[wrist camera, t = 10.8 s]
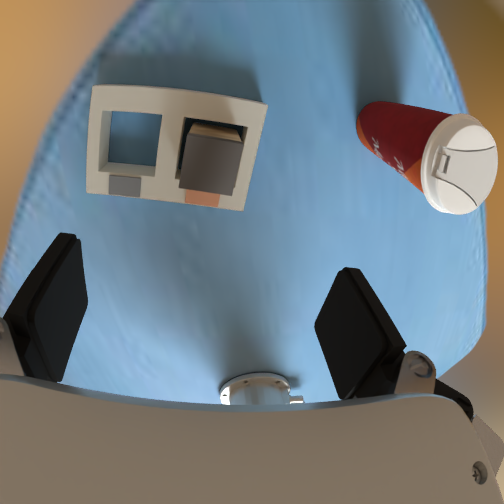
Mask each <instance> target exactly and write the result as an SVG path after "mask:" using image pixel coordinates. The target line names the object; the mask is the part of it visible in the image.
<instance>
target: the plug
mask: <svg viewBox="0 0 504 504" xmlns="http://www.w3.org/2000/svg"><path fill="white" fill-rule="evenodd" d="M243 147H244V144H243V142H242V141H241V139H240V137H239V135H238V132H237V130H236V129H233V128H227V127H222V126H216V125H210V124H204V123H198V122H193V125H192V127H191V129H190V132H189V133H188V134H187V139H186V144H185V150H184V156H183V162H182V168H181V174H180V181H179V187H178V188H181V189H188V190H195V191H202V192H208V193H215V194H221V195H227V196H232V194H233V189H234V185H235V181H236V176H237V172H238V168H239V164H240V159H241V155H242V151H243Z"/></svg>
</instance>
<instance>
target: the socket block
mask: <svg viewBox="0 0 504 504" xmlns="http://www.w3.org/2000/svg"><path fill="white" fill-rule="evenodd" d="M267 108H268V105H267V104H265V103H263V102H259V101H254V100H249V99H244V98H239V97H233V96H227V95H221V94H215V93H208V92H201V91H194V90H186V89H177V88H167V87H156V86H143V85H124V84H100V85H93V87H92V95H91V103H90V114H89V125H88V141H87V168H86V193H93V194H104V195H114V196H123V197H133V198H142V199H151V200H160V201H168V202H176V203H184V204H192V205H200V206H207V207H215V208H222V209H229V210H236V211H243V210H244V205H245V201H246V197H247V192H248V188H249V184H250V179H251V175H252V171H253V166H254V162H255V158H256V154H257V150H258V145H259V141H260V137H261V133H262V129H263V125H264V120H265V116H266V112H267ZM112 111H124V112H139V113H151V114H162V122H161V129H160V136H159V143H158V151H157V160H156V166H146V165H136V164H126V163H114V162H108V154H109V140H110V128H111V118H112ZM186 117H188V118H196V119H203V120H210V121H217V122H223V123H229V124H235V125H240V126H244V127H243V132H242V136H241V141H242V142H243V144H244V147H243V151H242V155H241V159H240V164H239V168H238V172H237V176H236V181H235V185H234V189H233V194H232V196H227V195H221V194H215V193H208V192H202V191H195V190H188V189H181V188H178V187H179V181H180V174H181V169H178V166H179V159H180V152H181V145H182V139H183V133H184V127H185V121H186Z"/></svg>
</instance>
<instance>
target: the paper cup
mask: <svg viewBox="0 0 504 504" xmlns="http://www.w3.org/2000/svg"><path fill="white" fill-rule="evenodd" d="M356 129H357V134H358V137H359V139H360V141H361V142H362V143H363V145H364V146H365V147H367V148H368V149H369V150H370V151H371V152H373V153H374V154H375V155H377V156H378V157H379V158H381V159H382V160H383V161H384V162H386V163H387V164H388V165H390V166H391V167H392V168H393V169H395V170H396V171H397V172H398V173H400V174H401V175H402V176H403V177H405V178H406V179H407V180H408V181H410V182H411V183H412V184H413V185H414V186H416V187H417V188H418V189H419V190H420V191H421V192H423V193H424V195H425V197H426V199H427V201H428V202H429V203H430V204H431V206H433V207H434V208H435V209H437V210H438V211H440V212H444V213H452V214H458V215H462V214H467V213H469V212H472V211H473V210H475V209H476V208H477V207H478V206H479V205H480V204H481V203H482V202H483V201H484V200H485V198H486V197H487V196H488V194H489V192H490V191H491V188H492V186H493V184H494V181H495V177H496V173H497V167H498V158H497V149H496V144H495V141H494V139H493V137H492V136H491V134H490V133H489V131H488V130H486V128H484V127H483V125H482V124H481V123H480V122H479V121H478V120H477V119H476V118H474V117H473V116H470V115H468V114H461V113H460V114H454V115H452V114H448V113H443V112H439V111H435V110H430V109H425V108H421V107H415V106H410V105H404V104H398V103H391V102H382V101H377V102H372V103H370V104H368V105H366V106H365V107H364V108H363V109H362V110H361V112H360V114H359V116H358V119H357V124H356Z"/></svg>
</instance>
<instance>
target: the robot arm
mask: <svg viewBox="0 0 504 504" xmlns="http://www.w3.org/2000/svg"><path fill="white" fill-rule="evenodd" d="M87 305H88V297H87V290H86V283H85V276H84V268H83V259H82V249H81V241H80V239H77V238H76V235H75V234H69V233H59V234H58V235H57V237H56V238H55V239H54V241H53V242H52V244H51V245H50V246H49V248H48V249H47V250H46V252H45V253H44V255H43V256H42V257H41V259H40V260H39V262H38V263H37V265H36V266H35V267H34V269H33V270H32V271H31V273H30V274H29V276H28V277H27V279H26V280H25V282H24V283H23V285H22V286H21V288H20V290H19V291H18V293H17V294H16V296H15V298H14V299H13V301H12V303H11V304H10V306H9V308H8V309H7V311H6V313H5V315H4V316H3V318H1V317H0V504H504V502H503V499H502V495H501V492H500V489H499V486H498V483H497V480H496V478H495V477H496V474H497V472H498V470H499V467H500V465H501V462H502V459H503V457H504V443H503V441H502V440H501V438H500V437H499V436H498V435H497V434H496V433H495V432H494V431H493V430H492V429H491V428H490V427H489V426H488V425H486V423H484V422H483V420H482V419H480V418H479V417H478V416H477V415H474V416H473V407H472V405H471V402H470V400H469V399H468V398H467V397H465V396H464V395H463V394H461V393H459V392H458V391H456V390H454V389H453V388H451V387H449V386H448V385H446V384H444V383H443V382H441V381H439V380H437V379H436V369H435V366H434V364H433V362H432V361H431V360H430V359H429V358H428V357H427V356H426V355H425V354H423V353H421V352H418V351H408V352H407V353H406V354H405V353H404V351H403V350H404V348H405V347H406V346H407V345H406V344H405V342H404V340H403V338H402V337H401V335H400V333H399V332H398V330H397V328H396V326H395V325H394V323H393V321H392V320H391V318H390V316H389V315H388V313H387V311H386V310H385V308H384V307H383V305H382V303H381V302H380V300H379V299H378V297H377V295H376V294H375V292H374V291H373V289H372V287H371V286H370V284H369V283H368V281H367V280H366V278H365V277H364V275H363V273H362V272H361V270H360V269H357V268H349V267H345V268H343V269H342V270H341V271H339V272H338V273H337V276H336V278H335V280H334V282H333V285H332V287H331V289H330V291H329V293H328V295H327V298H326V300H325V302H324V304H323V306H322V308H321V310H320V312H319V314H318V317H317V319H316V321H315V326H314V327H315V332H316V335H317V337H318V340H319V343H320V346H321V348H322V351H323V354H324V357H325V360H326V362H327V365H328V368H329V371H330V374H331V377H332V379H333V382H334V385H335V388H336V391H337V394H338V397H339V398H340V399H341V400H339V401H329V402H316V403H305V402H304V401H303V396H290V395H289V393H290V385H289V382H288V381H287V379H285V378H284V377H282V376H280V375H277V374H273V373H251V374H246V375H242V376H239V377H236V378H234V379H232V380H230V381H228V382H227V383H226V384H224V385H223V387H222V388H221V390H220V400H221V402H222V403H223V404H203V403H188V402H175V401H164V400H155V399H146V398H138V397H131V396H124V395H118V394H112V393H106V392H100V391H95V390H89V389H84V388H79V387H74V386H69V385H64V384H60V383H57V381H58V382H61V381H62V379H63V376H64V372H65V369H66V366H67V363H68V359H69V356H70V353H71V350H72V347H73V344H74V342H75V339H76V336H77V333H78V330H79V328H80V325H81V322H82V319H83V317H84V314H85V312H86V309H87Z"/></svg>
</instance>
